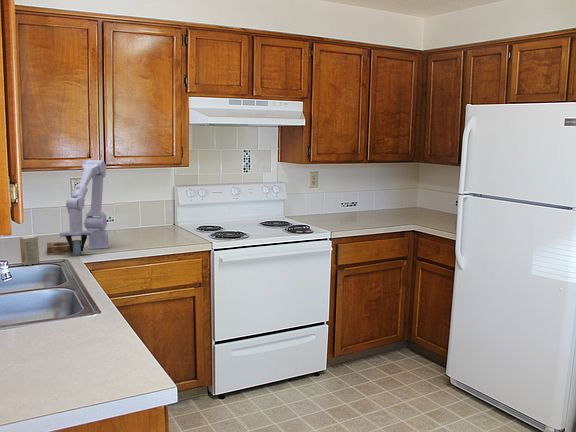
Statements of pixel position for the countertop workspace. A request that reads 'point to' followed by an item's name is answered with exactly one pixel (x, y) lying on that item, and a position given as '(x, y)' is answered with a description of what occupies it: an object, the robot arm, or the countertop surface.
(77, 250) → the peg
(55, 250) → the walnut holder
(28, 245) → the skincare box
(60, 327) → the countertop surface
